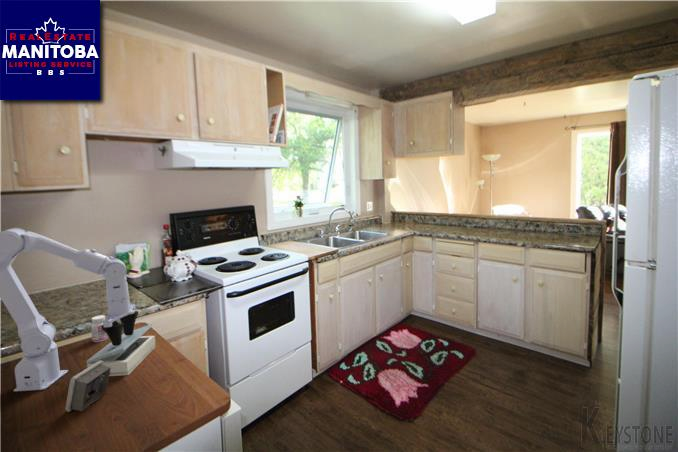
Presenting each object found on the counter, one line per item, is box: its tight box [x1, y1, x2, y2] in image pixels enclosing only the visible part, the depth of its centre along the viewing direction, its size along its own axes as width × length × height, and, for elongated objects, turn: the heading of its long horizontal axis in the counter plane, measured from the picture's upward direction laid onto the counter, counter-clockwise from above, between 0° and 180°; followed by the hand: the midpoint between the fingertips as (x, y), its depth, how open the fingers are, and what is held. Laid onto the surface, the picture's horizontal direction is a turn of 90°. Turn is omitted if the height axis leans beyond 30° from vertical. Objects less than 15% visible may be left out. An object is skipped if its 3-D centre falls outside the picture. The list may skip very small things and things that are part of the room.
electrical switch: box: [65, 360, 111, 413], centre depth 87 cm, size 9×5×9 cm, turn 174°
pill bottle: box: [90, 314, 109, 343], centre depth 124 cm, size 5×5×8 cm
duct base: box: [86, 335, 157, 377], centre depth 108 cm, size 18×11×4 cm, turn 5°
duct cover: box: [85, 323, 153, 365], centre depth 108 cm, size 18×11×1 cm, turn 5°
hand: (123, 339), depth 108 cm, fingers closed on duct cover, 6 cm apart
